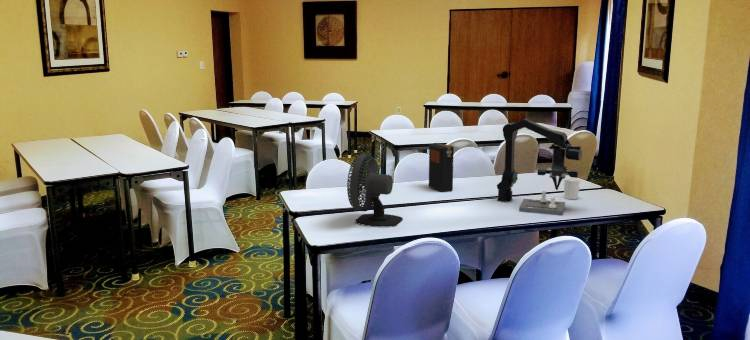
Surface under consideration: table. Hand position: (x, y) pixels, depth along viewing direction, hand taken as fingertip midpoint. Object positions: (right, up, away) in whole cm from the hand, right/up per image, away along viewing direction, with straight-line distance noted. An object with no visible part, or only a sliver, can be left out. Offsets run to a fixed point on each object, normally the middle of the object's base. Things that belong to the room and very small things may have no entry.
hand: (556, 189), depth 294 cm
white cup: (+14, -5, +20) cm, 25 cm away
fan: (-91, -14, -20) cm, 94 cm away
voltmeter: (-53, -1, +40) cm, 66 cm away
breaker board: (-7, -9, -1) cm, 12 cm away
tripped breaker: (-5, -6, +3) cm, 9 cm away
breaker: (-4, -8, -8) cm, 12 cm away
